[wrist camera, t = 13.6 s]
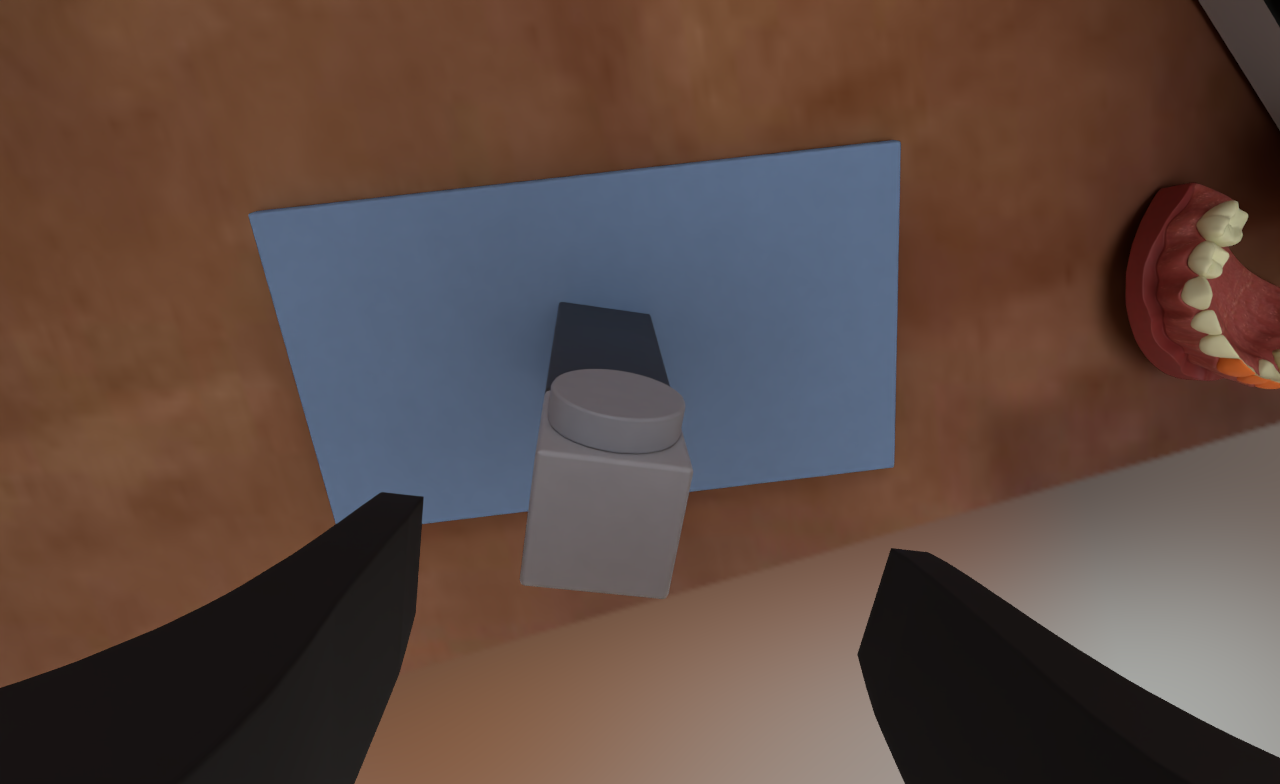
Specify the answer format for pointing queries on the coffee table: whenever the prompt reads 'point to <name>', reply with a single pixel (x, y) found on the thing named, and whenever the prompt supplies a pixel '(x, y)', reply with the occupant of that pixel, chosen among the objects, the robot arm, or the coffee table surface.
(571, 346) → the grey toy brick
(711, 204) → the rubber mat
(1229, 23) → the icon cube
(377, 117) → the coffee table surface
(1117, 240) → the coffee table surface
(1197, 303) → the dentures
